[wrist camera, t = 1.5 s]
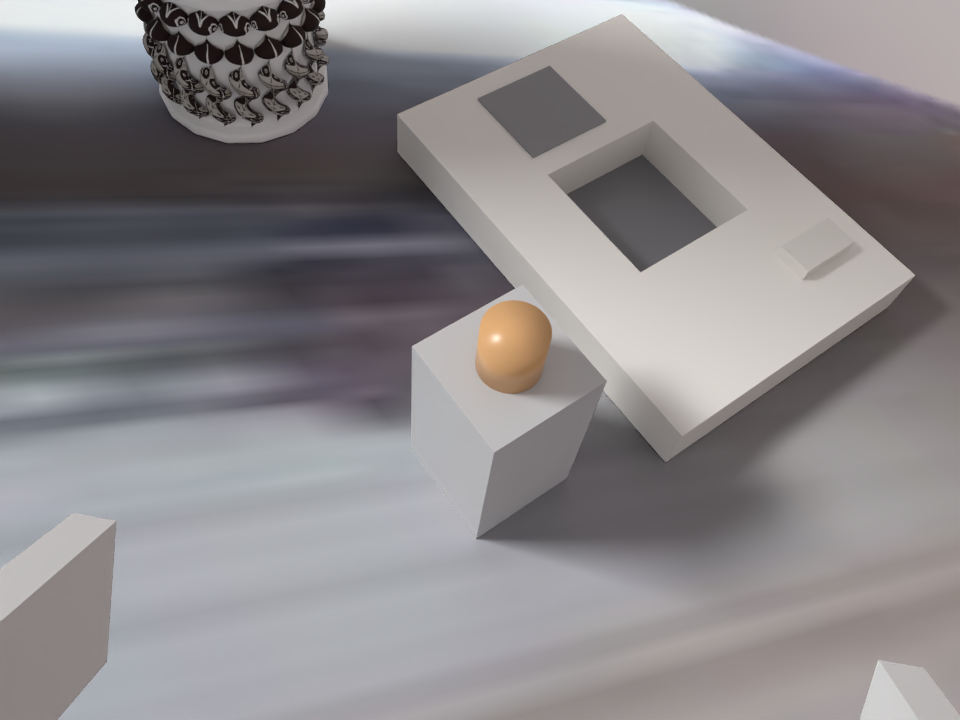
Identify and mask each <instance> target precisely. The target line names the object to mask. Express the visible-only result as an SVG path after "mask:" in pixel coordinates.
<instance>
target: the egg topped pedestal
mask: <svg viewBox="0 0 960 720" xmlns="http://www.w3.org/2000/svg"><path fill="white" fill-rule="evenodd" d="M606 382H607V381H606V379H605V378H604V377H603V376H602V375H601V374H600V373H599V371H598V370H597V369H596V368H595V367H594V366H593V365H592V363H591V362H590V361H589V360H588V359H587V358H586V356H585V355H584V354H583V353H582V352H581V351H580V350H579V348H578V347H577V346H576V345H575V344H574V343H573V342H572V340H571V339H570V338H569V337H568V336H567V335H566V334H565V332H564V331H563V330H562V329H561V328H560V327H559V325H558V324H557V323H556V322H555V321H554V320H553V319H552V317H551V316H550V315H549V314H548V313H547V312H546V311H545V309H544V308H543V307H542V306H541V305H540V304H539V302H538V301H537V300H536V299H535V298H534V297H533V296H532V294H531V293H530V292H529V291H528V290H527V289H526V288H525V286H524V285H521V286H519V287H517V288H515V289H514V290H512V291H510V292H508V293H507V294H505V295H503V296H501V297H499V298H498V299H496V300H494V301H492V302H490V303H489V304H487V305H485V306H483V307H481V308H480V309H478V310H476V311H474V312H473V313H471V314H469V315H467V316H465V317H464V318H462V319H460V320H458V321H456V322H455V323H453V324H451V325H449V326H447V327H446V328H444V329H442V330H440V331H438V332H437V333H435V334H433V335H431V336H430V337H428V338H426V339H424V340H422V341H421V342H419V343H417V344H415V345H413V346H412V411H411V450H412V451H413V453H414V454H415V455H416V457H417V458H418V460H419V461H420V462H421V464H422V465H423V466H424V468H425V469H426V471H427V472H428V473H429V475H430V476H431V477H432V479H433V480H434V482H435V483H436V484H437V486H438V487H439V488H440V490H441V491H442V493H443V494H444V495H445V497H446V498H447V499H448V501H449V502H450V504H451V505H452V506H453V508H454V509H455V511H456V512H457V513H458V515H459V516H460V517H461V519H462V520H463V522H464V523H465V524H466V526H467V527H468V528H469V530H470V531H471V533H472V534H473V535H474V537H475V538H476V539H477V538H478V537H480V536H481V535H483V534H484V533H486V532H487V531H489V530H490V529H492V528H493V527H495V526H496V525H498V524H499V523H501V522H502V521H504V520H505V519H507V518H508V517H510V516H511V515H512V514H514V513H515V512H517V511H518V510H520V509H521V508H523V507H524V506H526V505H527V504H529V503H530V502H532V501H533V500H535V499H536V498H538V497H539V496H541V495H542V494H544V493H545V492H547V491H548V490H550V489H551V488H553V487H554V486H556V485H557V484H559V483H560V482H562V481H563V480H565V479H566V478H567V477H568V475H569V472H570V470H571V468H572V465H573V463H574V460H575V458H576V455H577V453H578V450H579V448H580V446H581V443H582V441H583V438H584V436H585V433H586V431H587V428H588V426H589V424H590V421H591V419H592V416H593V414H594V411H595V409H596V407H597V404H598V402H599V399H600V397H601V394H602V392H603V389H604V387H605V385H606Z"/></svg>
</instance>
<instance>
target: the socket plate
mask: <svg viewBox="0 0 960 720" xmlns="http://www.w3.org/2000/svg"><path fill="white" fill-rule="evenodd" d="M397 150H398V153H399V154H400V156H401V157H402V158H403V159H404V160H405V161H406V163H407V164H408V165H409V166H410V167H411V168H412V170H413V171H414V172H415V173H416V174H417V175H418V176H419V178H420V179H421V180H422V181H423V182H424V183H425V185H426V186H427V187H428V188H429V189H430V190H431V192H432V193H433V194H434V195H435V196H436V197H437V198H438V200H439V201H440V202H441V203H442V204H443V205H444V207H445V208H446V209H447V210H448V211H449V212H450V214H451V215H452V216H453V217H454V218H455V219H456V220H457V222H458V223H459V224H460V225H461V226H462V227H463V229H464V230H465V231H466V232H467V233H468V234H469V236H470V237H471V238H472V239H473V240H474V241H475V242H476V244H477V245H478V246H479V247H480V248H481V249H482V251H483V252H484V253H485V254H486V255H487V256H488V258H489V259H490V260H491V261H492V262H493V263H494V264H495V266H496V267H497V268H498V269H499V270H500V271H501V273H502V274H503V275H504V276H505V277H506V278H507V280H508V281H509V282H510V283H511V284H512V285H513V286H514V288H517V287H519V286H521V285H524V286H525V288H526V289H527V290H528V291H529V292H530V293H531V294H532V296H533V297H534V298H535V299H536V300H537V301H538V302H539V304H540V305H541V306H542V307H543V308H544V309H545V311H546V312H547V313H548V314H549V315H550V316H551V317H552V319H553V320H554V321H555V322H556V323H557V324H558V325H559V327H560V328H561V329H562V330H563V331H564V332H565V334H566V335H567V336H568V337H569V338H570V339H571V340H572V342H573V343H574V344H575V345H576V346H577V347H578V348H579V350H580V351H581V352H582V353H583V354H584V355H585V356H586V358H587V359H588V360H589V361H590V362H591V363H592V365H593V366H594V367H595V368H596V369H597V370H598V371H599V373H600V374H601V375H602V376H603V377H604V378H605V379H606V381H607V382H606V385H605V387H604V389H603V391H604V392H605V393H606V394H607V395H608V396H609V398H610V399H611V400H612V401H613V402H614V403H615V405H616V406H617V407H618V408H619V409H620V410H621V412H622V413H623V414H624V415H625V416H626V417H627V418H628V420H629V421H630V422H631V423H632V424H633V425H634V427H635V428H636V429H637V430H638V431H639V432H640V434H641V435H642V436H643V437H644V438H645V439H646V441H647V442H648V443H649V444H650V445H651V446H652V447H653V449H654V450H655V451H656V452H657V453H658V454H659V456H660V457H661V458H662V459H663V460H664V461H665V463H666V462H667V461H668V460H670V459H671V458H673V457H674V456H676V455H677V454H678V453H680V452H681V451H683V450H684V449H686V448H687V447H688V446H690V445H691V444H693V443H694V442H696V441H697V440H699V439H700V438H701V437H703V436H704V435H706V434H707V433H709V432H710V431H711V430H713V429H714V428H716V427H717V426H719V425H720V424H721V423H723V422H724V421H726V420H727V419H729V418H730V417H731V416H733V415H734V414H736V413H737V412H739V411H740V410H741V409H743V408H744V407H746V406H747V405H749V404H750V403H751V402H753V401H754V400H756V399H757V398H759V397H760V396H762V395H763V394H764V393H766V392H767V391H769V390H770V389H772V388H773V387H774V386H776V385H777V384H779V383H780V382H782V381H783V380H784V379H786V378H787V377H789V376H790V375H792V374H793V373H794V372H796V371H797V370H799V369H800V368H802V367H803V366H804V365H806V364H807V363H809V362H810V361H812V360H813V359H814V358H816V357H817V356H819V355H820V354H822V353H823V352H825V351H826V350H827V349H829V348H830V347H832V346H833V345H835V344H836V343H837V342H839V341H840V340H842V339H843V338H845V337H846V336H847V335H849V334H850V333H852V332H853V331H855V330H856V329H857V328H859V327H860V326H862V325H863V324H865V323H866V322H867V321H869V320H870V319H872V318H873V317H875V316H876V315H877V314H879V313H880V312H882V311H883V310H885V309H886V308H887V307H889V305H890V304H891V303H892V302H893V301H894V300H895V298H896V297H897V296H898V295H899V294H900V293H901V291H902V290H903V289H904V288H905V287H906V286H907V284H908V283H909V282H910V281H911V280H912V279H913V277H914V276H915V275H914V274H913V273H912V272H911V271H910V270H909V269H908V268H907V267H905V266H904V265H903V264H902V263H901V262H900V261H899V260H898V259H896V258H895V257H894V256H893V255H892V254H891V253H890V252H889V251H887V250H886V249H885V248H884V247H883V246H882V245H881V244H880V243H878V242H877V241H876V240H875V239H874V238H873V237H872V236H871V235H869V234H868V233H867V232H866V231H865V230H864V229H863V228H862V227H860V226H859V225H858V224H857V223H856V222H855V221H854V220H853V219H851V218H850V217H849V216H848V215H847V214H846V213H845V212H844V211H843V210H841V209H840V208H839V207H838V206H837V205H836V204H835V203H834V202H832V201H831V200H830V199H829V198H828V197H827V196H826V195H825V194H823V193H822V192H821V191H820V190H819V189H818V188H817V187H816V186H814V185H813V184H812V183H811V182H810V181H809V180H808V179H807V178H805V177H804V176H803V175H802V174H801V173H800V172H799V171H798V170H796V169H795V168H794V167H793V166H792V165H791V164H790V163H789V162H787V161H786V160H785V159H784V158H783V157H782V156H781V155H780V154H778V153H777V152H776V151H775V150H774V149H773V148H772V147H771V146H769V145H768V144H767V143H766V142H765V141H764V140H763V139H762V138H760V137H759V136H758V135H757V134H756V133H755V132H754V131H753V130H752V129H750V128H749V127H748V126H747V125H746V124H745V123H744V122H743V121H741V120H740V119H739V118H738V117H737V116H736V115H735V114H734V113H732V112H731V111H730V110H729V109H728V108H727V107H726V106H725V105H723V104H722V103H721V102H720V101H719V100H718V99H717V98H716V97H714V96H713V95H712V94H711V93H710V92H709V91H708V90H707V89H705V88H704V87H703V86H702V85H701V84H700V83H699V82H698V81H696V80H695V79H694V78H693V77H692V76H691V75H690V74H689V73H687V72H686V71H685V70H684V69H683V68H682V67H681V66H680V65H678V64H677V63H676V62H675V61H674V60H673V59H672V58H671V57H669V56H668V55H667V54H666V53H665V52H664V51H663V50H662V49H661V48H659V47H658V46H657V45H656V44H655V43H654V42H653V41H652V40H650V39H649V38H648V37H647V36H646V35H645V34H644V33H643V32H641V31H640V30H639V29H638V28H637V27H636V26H635V25H634V24H632V23H631V22H630V21H629V20H628V19H627V18H626V17H625V16H623V15H622V14H621V15H619V16H617V17H614V18H612V19H610V20H608V21H606V22H603V23H601V24H599V25H597V26H594V27H592V28H590V29H588V30H585V31H583V32H581V33H579V34H576V35H574V36H572V37H570V38H567V39H565V40H563V41H561V42H558V43H556V44H554V45H552V46H549V47H547V48H545V49H543V50H540V51H538V52H536V53H534V54H531V55H529V56H527V57H525V58H522V59H520V60H518V61H516V62H513V63H511V64H509V65H507V66H504V67H502V68H500V69H498V70H495V71H493V72H491V73H489V74H486V75H484V76H482V77H480V78H477V79H475V80H473V81H471V82H468V83H466V84H464V85H462V86H459V87H457V88H455V89H453V90H450V91H448V92H446V93H444V94H441V95H439V96H437V97H435V98H432V99H430V100H428V101H426V102H423V103H421V104H419V105H417V106H414V107H412V108H410V109H408V110H405V111H403V112H401V113H399V114H397Z"/></svg>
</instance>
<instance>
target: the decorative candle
mask: <svg viewBox="0 0 960 720" xmlns="http://www.w3.org/2000/svg"><path fill="white" fill-rule="evenodd" d="M324 8H325V0H138V4H137V5H136V6H135V12H136V15H137V17H138V18H139V19H140V20H141V21H143V22H144V30H145V34H144V36H143V45H144V47H145V50H146V51H147V53H148V54H149V55H150V56H151V58H153V60H152V62H151V72H152V74H153V76H154V78H155V79H156V81H157V82H158V83H159V92H160V95H161V97H162V99H163V101H164V103H165V105H166V107H167V109H168V111H169V112H170V114H171V116H172V117H173V118H174V119H175V120H177V121H178V122H180V123H181V124H182V125H184V126H185V127H186V128H188V129H189V130H191V131H192V132H193V133H195V134H197V135H200V136H204V137H208V138H211V139H215V140H218V141H222V142H225V143H263V142H266V141H269V140H272V139H275V138H278V137H282V136H285V135H288V134H291V133H294V132H295V131H297V130H298V129H299V128H301V127H302V126H303V125H305V124H306V123H307V122H308V121H310V120H311V119H312V118H314V117H315V116H316V115H317V114H318V112H319V110H320V108H321V106H322V104H323V103H324V101H325V99H326V97H327V95H328V79H327V66H326V65H327V64H328V63H329V57H328V56H327V55H325V54H323V51H322V49H320V48H318V47H319V46H323V45H325V44H326V39H327V38H328V32H327V30H326V29H324V28H321V27H319V26H318V25H319V23H320V21H322V20H324V18H325V14H324V12H323V10H324Z"/></svg>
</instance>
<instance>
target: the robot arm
mask: <svg viewBox="0 0 960 720" xmlns="http://www.w3.org/2000/svg"><path fill="white" fill-rule="evenodd" d="M115 534H116V521H114V520H108V519H103V518H97V517H92V516H86V515H81V514H75V513H72V514H71V515H70V516H69V517H67V518H66V519H65V520H63V521H62V522H61V523H59V524H58V525H57V526H56V527H54V528H53V529H52V530H50V531H49V532H48V533H46V534H45V535H44V536H43V537H41V538H40V539H39V540H37V541H36V542H35V543H33V544H32V545H31V546H30V547H28V548H27V549H26V550H24V551H23V552H22V553H20V554H19V555H18V556H17V557H15V558H14V559H13V560H11V561H10V562H9V563H7V564H6V565H5V566H4V567H2V568H1V569H0V720H57V719H58V718H59V717H60V716H61V715H62V714H63V712H64V711H65V710H66V709H67V708H68V707H69V705H70V704H71V703H72V702H73V701H74V700H75V698H76V697H77V696H78V695H79V694H80V692H81V691H82V690H83V689H84V688H85V687H86V685H87V684H88V683H89V682H90V681H91V680H92V678H93V677H94V676H95V675H96V674H97V673H98V671H99V670H100V669H101V668H102V667H103V666H104V664H105V663H106V662H107V653H108V638H109V623H110V608H111V593H112V579H113V564H114V549H115ZM860 720H960V715H959V714H958V713H957V711H956V710H955V709H954V707H953V706H952V705H951V703H950V702H949V701H948V699H947V698H946V697H945V695H944V694H943V693H942V691H941V690H940V689H939V687H938V686H937V685H936V684H935V682H934V681H933V680H932V678H931V677H930V676H929V674H928V673H927V672H926V670H925V669H924V668H921V667H915V666H910V665H904V664H899V663H893V662H888V661H882V660H878V663H877V666H876V669H875V672H874V676H873V679H872V682H871V685H870V688H869V692H868V695H867V698H866V701H865V705H864V708H863V711H862V714H861V718H860Z"/></svg>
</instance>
